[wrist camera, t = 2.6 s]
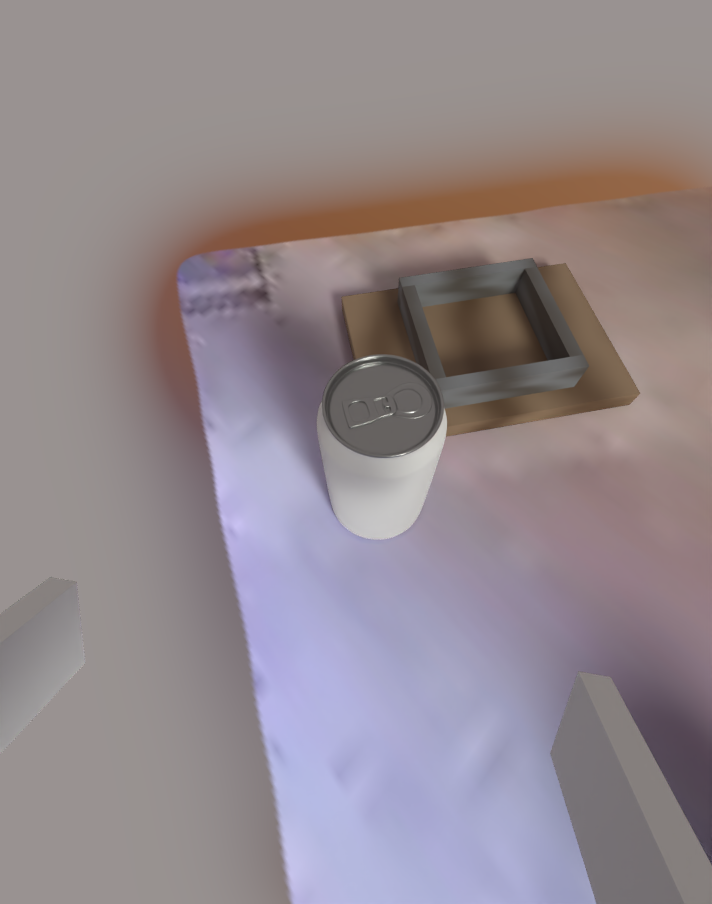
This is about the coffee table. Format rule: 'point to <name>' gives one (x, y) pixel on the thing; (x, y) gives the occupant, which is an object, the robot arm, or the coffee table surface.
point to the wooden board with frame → (496, 342)
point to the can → (380, 442)
